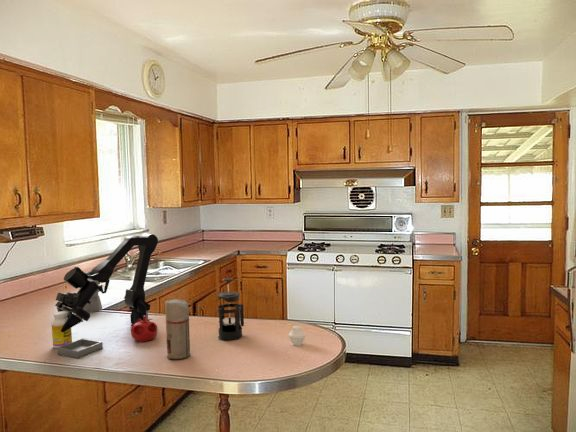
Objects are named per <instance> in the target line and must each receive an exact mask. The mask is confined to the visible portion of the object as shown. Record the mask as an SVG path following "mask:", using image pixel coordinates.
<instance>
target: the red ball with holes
mask: <svg viewBox="0 0 576 432" xmlns="http://www.w3.org/2000/svg"><path fill="white" fill-rule="evenodd" d="M143 317H144V319H143V321H142V320H141V319H140V321H138V322H137V321H136V322H137V323H135V322H134V323H135V324H134V325H133V326H130V327H131V328H130V334H131V337H132V338H133V340H135V341H136V342H139V343H140V342H141V343H142V342H147V341H148V342H149V341H151V340H152V341H153V339H155V338H156V337H157V334H158V324H156V322H153V321H149V320H153V318H148V320H147V321H146V316H143Z"/></svg>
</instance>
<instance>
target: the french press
mask: <svg viewBox="0 0 576 432" xmlns="http://www.w3.org/2000/svg"><path fill="white" fill-rule="evenodd" d="M233 280H234V278H231V277H227V278H222V281H223V282H226V284H227V291H222V292H219V293H217V294H216V296H217V298H218V299H217V300H219V301H220V300H221V299H223V300H224V301H226V302H227V303H224V304H220V305H218V306H217V312H218V323H219V328H218V337H217V338H218V340H220V341H223V342H233V341H237V340H240V339H242V338H243V337H244V336H243V328H242V327H244V325H245V321H244V320H245V318H244V304H243V303H234V302H237V301H239V300H240V295H241V293H240V292H238V291H230V288H229V287H230V285H229V284H230V282H231V281H233ZM225 308H228V309H225ZM231 308H233V309H231ZM225 314H228V317H225V316H226V315H225ZM231 314H234V317H231Z"/></svg>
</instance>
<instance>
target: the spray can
mask: <svg viewBox="0 0 576 432" xmlns="http://www.w3.org/2000/svg"><path fill="white" fill-rule="evenodd" d="M164 306H165V307H164V308H165V330H166V331H165V333H166V354H167V355H166V358H168V359H169V360H180V359H186V358H187V359H188V358H189V357H190V356H191V344H190V343H191V340H190V337H191V336H190V315H189V304H188V302H187V301H186V300H184V299H180V298H173V299H168V300H165V301H164Z"/></svg>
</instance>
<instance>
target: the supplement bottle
mask: <svg viewBox="0 0 576 432" xmlns="http://www.w3.org/2000/svg"><path fill="white" fill-rule="evenodd" d="M67 315H68V314H67V312H66V311H60V312H58V311H57V312H54V313H53V318H54V319H53V320H52V321H51V337H52V346H53V348H54V349H57V348H58V347H61V346H63V345H66V344H69V343H71V342H73V333H72V327H71V328H70V329H68V330H66V331H65V332H61V329H62V327H63V326H64V324H65V322H66V321H67V319H68V318H67Z"/></svg>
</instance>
